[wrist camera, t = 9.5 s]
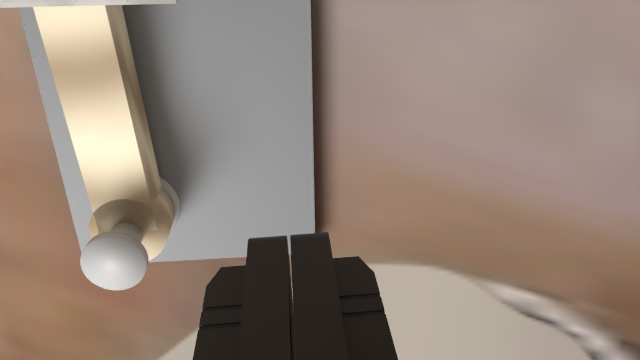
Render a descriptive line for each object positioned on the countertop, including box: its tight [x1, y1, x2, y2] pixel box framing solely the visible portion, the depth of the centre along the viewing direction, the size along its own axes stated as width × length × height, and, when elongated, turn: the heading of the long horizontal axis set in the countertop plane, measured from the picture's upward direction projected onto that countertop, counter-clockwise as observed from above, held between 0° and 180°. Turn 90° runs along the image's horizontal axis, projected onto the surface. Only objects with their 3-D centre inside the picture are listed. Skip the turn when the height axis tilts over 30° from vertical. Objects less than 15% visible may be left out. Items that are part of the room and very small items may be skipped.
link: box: [33, 5, 175, 261], centre depth 26 cm, size 18×4×2 cm, turn 3°
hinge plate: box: [18, 0, 315, 290], centre depth 25 cm, size 24×14×7 cm, turn 1°
